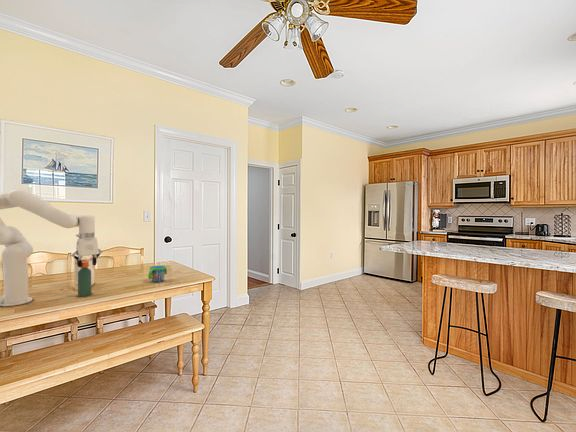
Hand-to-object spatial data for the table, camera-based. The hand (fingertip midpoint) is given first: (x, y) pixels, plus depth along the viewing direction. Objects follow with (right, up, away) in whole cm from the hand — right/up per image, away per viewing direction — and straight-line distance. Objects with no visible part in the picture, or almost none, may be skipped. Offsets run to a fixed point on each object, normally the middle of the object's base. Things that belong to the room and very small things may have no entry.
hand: (87, 265), depth 165 cm
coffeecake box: (-14, -17, +17) cm, 28 cm away
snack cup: (+26, -17, +33) cm, 46 cm away
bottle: (-1, -17, 0) cm, 17 cm away
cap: (-1, -1, -1) cm, 1 cm away
